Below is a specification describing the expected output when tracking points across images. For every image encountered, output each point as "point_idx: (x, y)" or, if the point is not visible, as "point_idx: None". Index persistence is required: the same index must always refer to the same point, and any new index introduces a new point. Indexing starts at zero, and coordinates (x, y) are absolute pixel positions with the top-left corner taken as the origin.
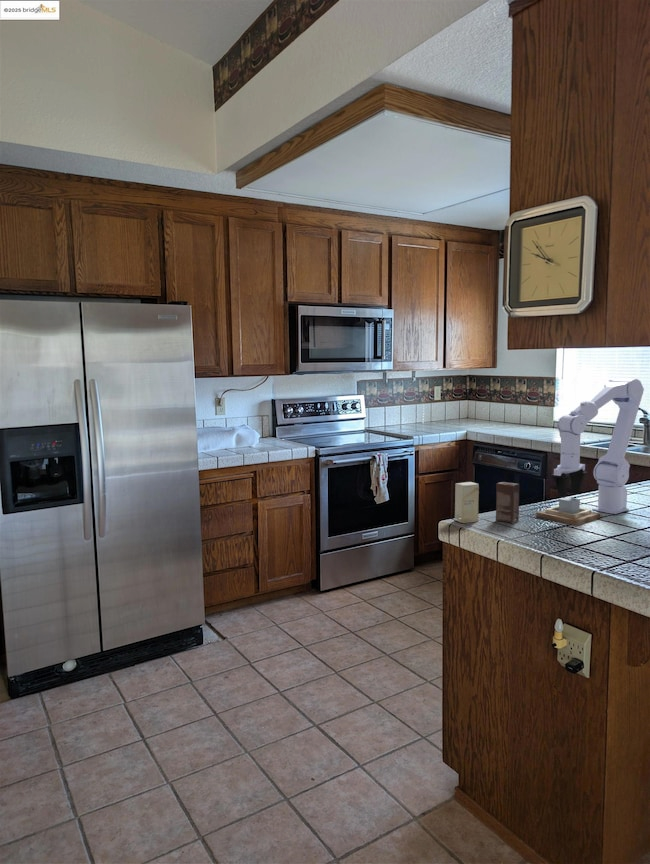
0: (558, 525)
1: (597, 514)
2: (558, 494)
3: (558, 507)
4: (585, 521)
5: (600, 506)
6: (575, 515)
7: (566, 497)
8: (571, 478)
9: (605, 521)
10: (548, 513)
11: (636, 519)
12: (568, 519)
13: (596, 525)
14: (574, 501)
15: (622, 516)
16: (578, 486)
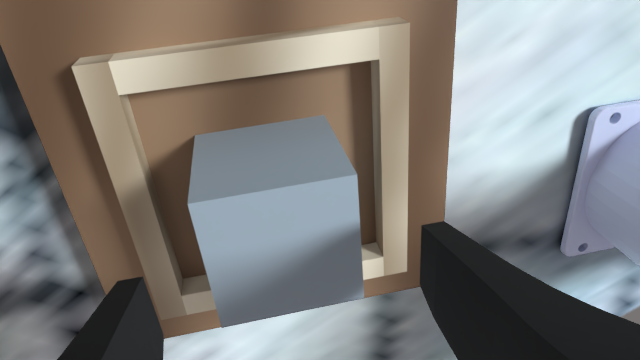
0: (13, 273)
1: (400, 290)
2: (103, 299)
3: (277, 72)
4: None
5: (614, 175)
6: (182, 312)
7: (328, 190)
8: (535, 353)
9: (377, 317)
10: (79, 106)
11: None
12: None
13: (256, 351)
14: (267, 312)
15: (550, 285)
16: (461, 352)
